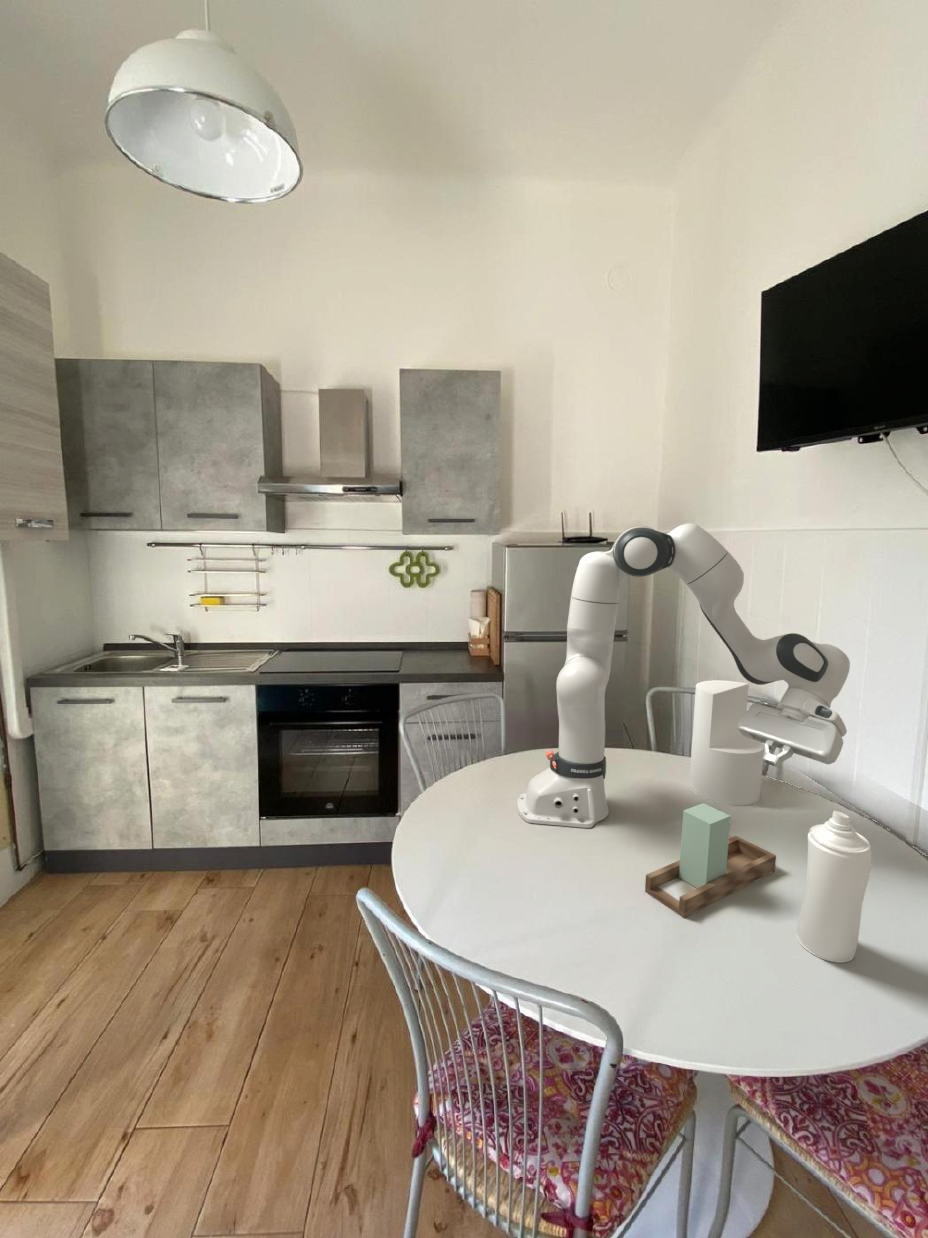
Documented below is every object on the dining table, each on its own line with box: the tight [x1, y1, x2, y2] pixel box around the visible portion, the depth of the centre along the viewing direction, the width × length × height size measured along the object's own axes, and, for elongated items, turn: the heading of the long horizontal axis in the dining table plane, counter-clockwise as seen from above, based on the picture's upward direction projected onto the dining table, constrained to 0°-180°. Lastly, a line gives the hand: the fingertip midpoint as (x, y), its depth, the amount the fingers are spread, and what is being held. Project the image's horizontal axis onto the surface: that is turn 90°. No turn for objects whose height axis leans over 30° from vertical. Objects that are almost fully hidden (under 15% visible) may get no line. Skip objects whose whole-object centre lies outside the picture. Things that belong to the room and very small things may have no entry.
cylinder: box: [688, 679, 765, 806], centre depth 153 cm, size 17×17×28 cm
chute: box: [644, 835, 777, 919], centre depth 115 cm, size 28×9×4 cm, turn 121°
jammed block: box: [679, 802, 731, 888], centre depth 113 cm, size 6×6×14 cm
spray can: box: [795, 810, 872, 964], centre depth 95 cm, size 12×11×25 cm
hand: (770, 763), depth 122 cm, fingers closed
